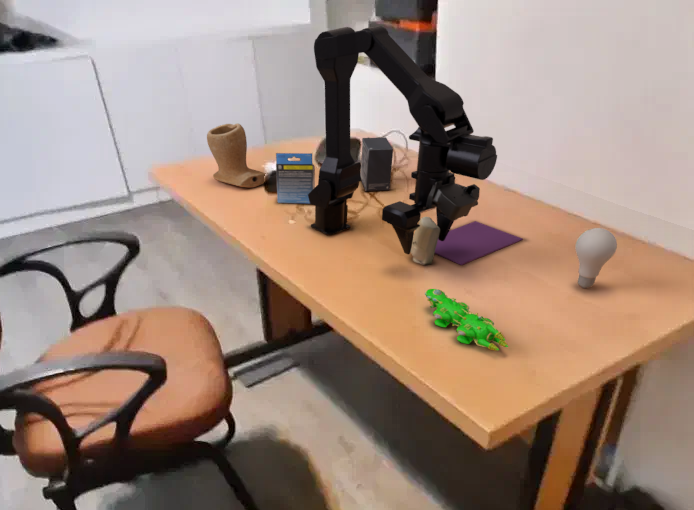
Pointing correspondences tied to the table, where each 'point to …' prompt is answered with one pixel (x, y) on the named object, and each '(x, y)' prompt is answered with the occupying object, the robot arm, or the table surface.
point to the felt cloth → (473, 242)
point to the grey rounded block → (425, 241)
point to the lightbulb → (593, 254)
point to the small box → (376, 164)
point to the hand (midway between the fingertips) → (424, 247)
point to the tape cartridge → (294, 177)
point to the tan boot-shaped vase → (232, 156)
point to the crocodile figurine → (464, 321)
